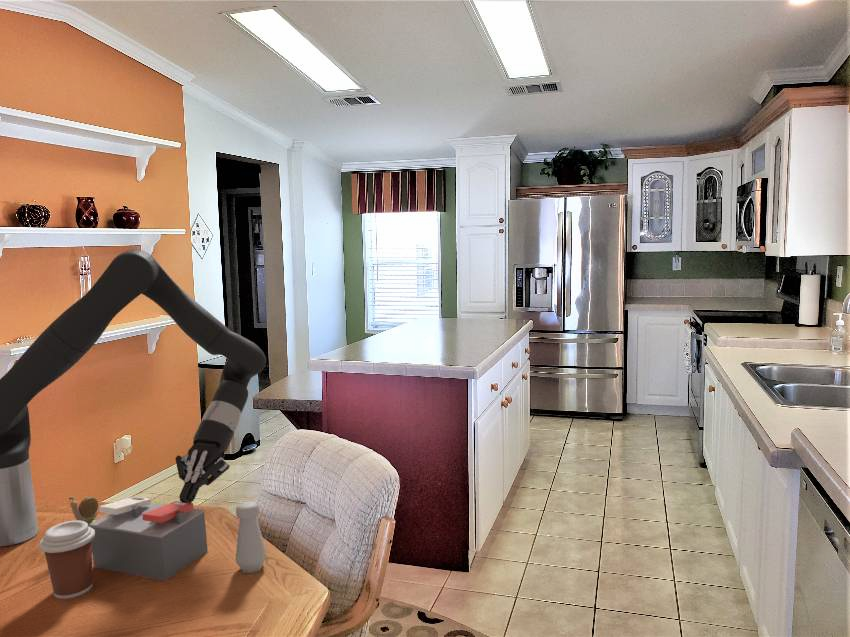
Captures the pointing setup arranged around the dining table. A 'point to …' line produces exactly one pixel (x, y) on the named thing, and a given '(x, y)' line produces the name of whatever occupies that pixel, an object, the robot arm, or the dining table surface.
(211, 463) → the robot arm
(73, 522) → the coffee cup
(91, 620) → the dining table surface
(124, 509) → the white rocker
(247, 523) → the salt shaker
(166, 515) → the red rocker
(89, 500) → the snail figurine
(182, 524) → the switch box
